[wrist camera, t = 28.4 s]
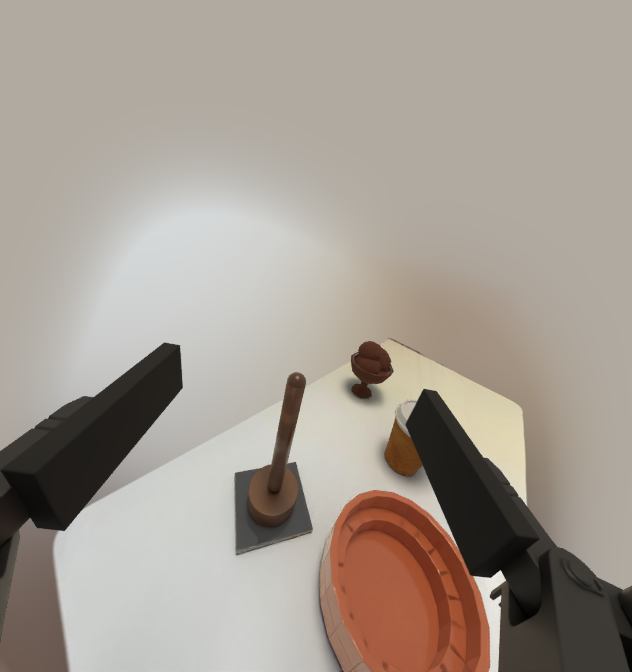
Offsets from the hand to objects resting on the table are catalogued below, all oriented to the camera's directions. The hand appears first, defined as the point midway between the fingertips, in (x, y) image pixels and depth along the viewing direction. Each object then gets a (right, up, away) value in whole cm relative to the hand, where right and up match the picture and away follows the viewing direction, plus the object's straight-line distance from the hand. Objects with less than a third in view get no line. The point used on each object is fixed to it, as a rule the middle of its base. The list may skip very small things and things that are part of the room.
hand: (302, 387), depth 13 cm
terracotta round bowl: (+9, -29, +15) cm, 34 cm away
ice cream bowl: (+13, -13, +50) cm, 53 cm away
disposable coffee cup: (+17, -22, +33) cm, 43 cm away
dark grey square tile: (-6, -22, +22) cm, 32 cm away
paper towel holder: (-6, -21, +21) cm, 31 cm away
